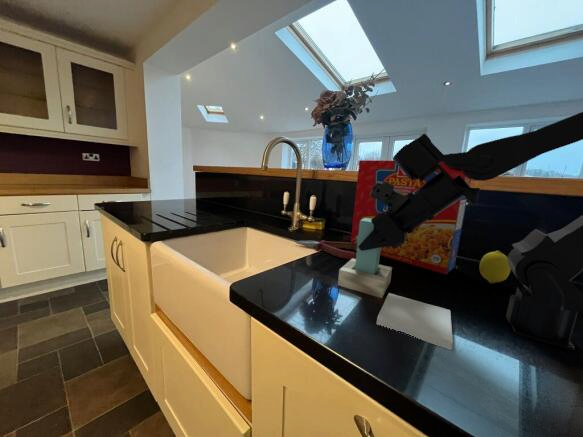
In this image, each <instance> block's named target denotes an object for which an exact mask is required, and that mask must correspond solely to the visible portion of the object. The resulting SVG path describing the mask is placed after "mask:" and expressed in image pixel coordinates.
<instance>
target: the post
mask: <svg viewBox="0 0 583 437" xmlns="http://www.w3.org/2000/svg"><path fill="white" fill-rule="evenodd" d="M373 229H374V225H373V223H372V221H371V219H369V218H364V219H362V220H360V225H359V234H358V244H357V250H356V252H355V253H356V263H355V270H357V271H361V272H365V273H369V274H372V275H377V274H378V267H379V264H380V258H381V257H380V256H381V255H380V251H381V248H375V249H369V250H364V251H361V250H360V249H359V248H358V246H359V245H360V244H361V243H362V242H363V241H364V240H365V238H366V237H367V236H368V235H369V234H370V233H371V232H372V231H373Z"/></svg>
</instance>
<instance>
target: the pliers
mask: <svg viewBox="0 0 583 437" xmlns="http://www.w3.org/2000/svg"><path fill="white" fill-rule="evenodd" d="M295 244H297V245H300V246H301V245H302V246H304V247H307V248H310V249H311V248H312V249H315V250H316V251H322V252H324V253H327V254H330V255H332V256H335V257H336V258H341V259H347V260H351V259H352V258H353V259H356V253H357V252H355V251H357V244H354V243H351V242H348V241H347V242H345V241H326V240H323V239H321V240H320V241H317V240H301V239H300V240H299V239H298V241H295ZM341 248H345V250H344V249H341ZM351 249H353V251H350V250H351Z"/></svg>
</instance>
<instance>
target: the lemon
mask: <svg viewBox="0 0 583 437" xmlns="http://www.w3.org/2000/svg"><path fill="white" fill-rule="evenodd" d="M511 271H512V270H511V268H510V267H509V264H508V256H507V255H505V254H504V253H503V252H501V251H500V250H495V251H491V252H487V253H486V254H484V255H483V257H482V258H481V260H480V262H479V272H480V275H481V276H482V277H483V279H485V280H487V281H488V283H490V284H495V283H501V282H503V281H505V280H507V278H508V277H509V275H510V273H511Z"/></svg>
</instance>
